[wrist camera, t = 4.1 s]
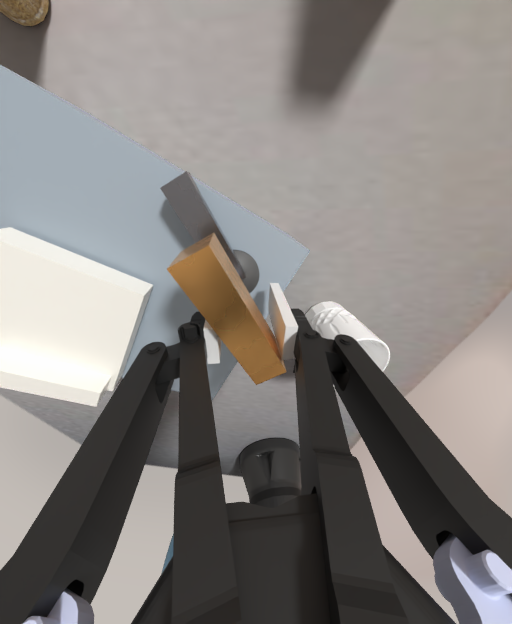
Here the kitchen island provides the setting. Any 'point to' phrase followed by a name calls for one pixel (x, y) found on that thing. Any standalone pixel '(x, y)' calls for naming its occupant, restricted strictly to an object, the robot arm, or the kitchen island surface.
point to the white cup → (347, 330)
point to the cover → (64, 320)
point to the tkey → (220, 284)
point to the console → (121, 210)
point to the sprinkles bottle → (25, 11)
